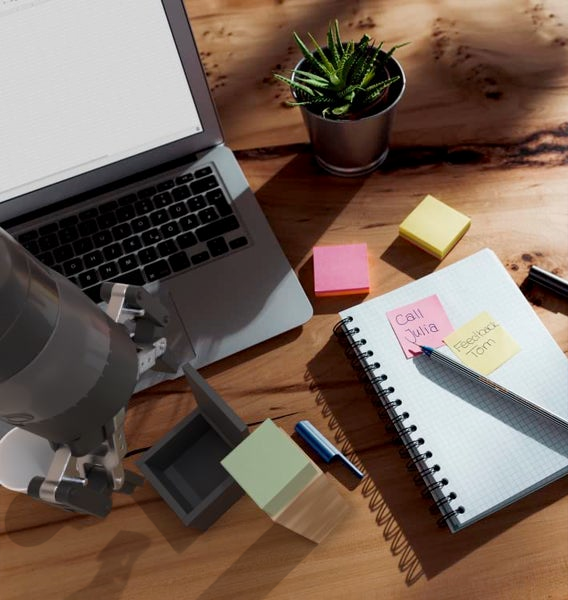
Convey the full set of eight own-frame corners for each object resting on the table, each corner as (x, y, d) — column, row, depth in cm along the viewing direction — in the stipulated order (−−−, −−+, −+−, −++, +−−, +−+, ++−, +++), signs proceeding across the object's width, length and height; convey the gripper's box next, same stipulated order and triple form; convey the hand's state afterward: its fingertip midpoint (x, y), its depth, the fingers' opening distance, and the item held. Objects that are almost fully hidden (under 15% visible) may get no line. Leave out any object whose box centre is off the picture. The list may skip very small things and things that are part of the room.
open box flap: (241, 432, 61) (248, 426, 61) (181, 366, 64) (187, 361, 64) (250, 463, 69) (256, 458, 69) (196, 404, 72) (202, 399, 72)
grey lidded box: (205, 531, 73) (186, 526, 67) (156, 473, 76) (133, 462, 70) (267, 472, 76) (254, 461, 70) (217, 417, 79) (201, 402, 72)
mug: (41, 494, 75) (-22, 477, 64) (71, 438, 78) (15, 413, 67) (119, 523, 74) (68, 511, 63) (147, 465, 76) (103, 444, 66)
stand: (318, 544, 73) (273, 521, 49) (288, 510, 74) (230, 472, 50) (351, 510, 74) (323, 472, 50) (321, 478, 76) (280, 426, 52)
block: (273, 516, 49) (261, 509, 45) (235, 472, 50) (219, 462, 46) (318, 472, 50) (310, 461, 46) (279, 431, 52) (268, 417, 48)
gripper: (19, 224, 37) (131, 328, 52) (-94, 478, 32) (68, 513, 47) (145, 240, 37) (222, 341, 52) (54, 502, 31) (170, 530, 46)
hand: (149, 422), depth 49 cm, fingers open, 8 cm apart
